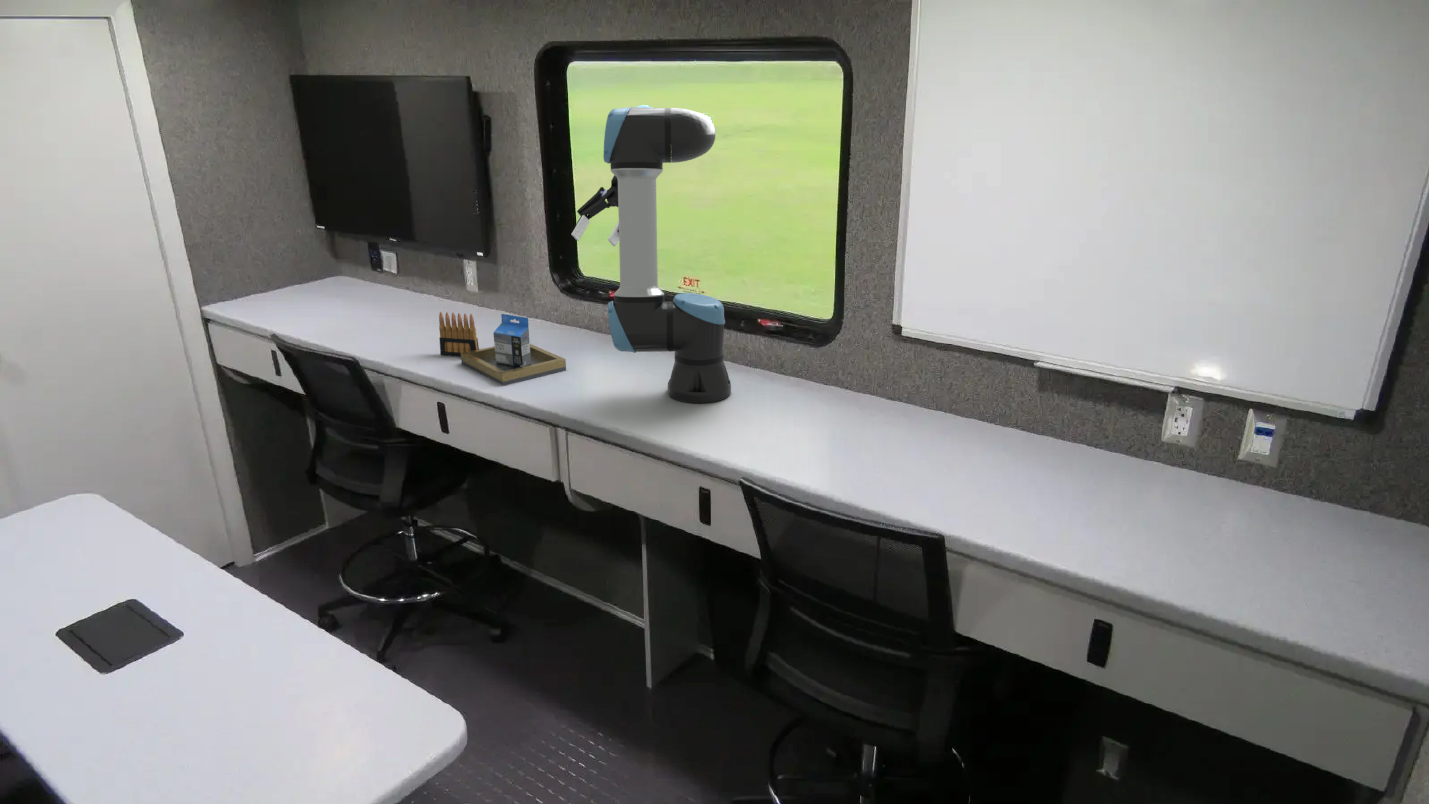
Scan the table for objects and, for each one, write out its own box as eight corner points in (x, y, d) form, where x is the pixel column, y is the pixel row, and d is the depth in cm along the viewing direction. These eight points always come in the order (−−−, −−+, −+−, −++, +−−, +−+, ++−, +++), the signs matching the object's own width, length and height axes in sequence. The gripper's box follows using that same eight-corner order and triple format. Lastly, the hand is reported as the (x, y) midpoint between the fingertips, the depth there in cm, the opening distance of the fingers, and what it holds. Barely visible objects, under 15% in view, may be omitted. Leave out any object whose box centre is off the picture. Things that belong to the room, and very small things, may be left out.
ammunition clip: (480, 356, 229) (476, 313, 225) (476, 358, 228) (472, 314, 223) (443, 353, 232) (439, 310, 227) (440, 355, 230) (435, 312, 226)
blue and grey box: (495, 363, 221) (490, 317, 216) (504, 359, 224) (500, 313, 220) (522, 368, 217) (519, 321, 213) (532, 363, 220) (528, 317, 216)
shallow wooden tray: (566, 370, 219) (565, 359, 218) (503, 385, 208) (502, 374, 206) (522, 350, 234) (521, 340, 233) (461, 364, 223) (460, 353, 222)
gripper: (670, 189, 228) (634, 254, 222) (603, 183, 242) (568, 243, 236) (657, 170, 222) (620, 236, 216) (589, 165, 236) (552, 226, 230)
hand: (592, 240), depth 226 cm, fingers open, 13 cm apart
